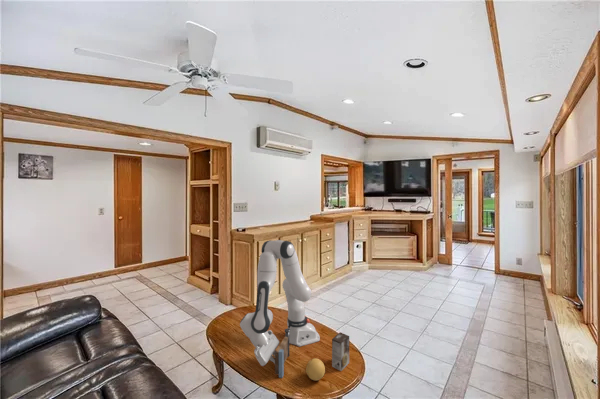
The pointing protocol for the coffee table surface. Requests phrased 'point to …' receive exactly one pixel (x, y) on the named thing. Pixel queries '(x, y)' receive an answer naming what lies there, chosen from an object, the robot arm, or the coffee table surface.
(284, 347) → the wooden gate panel
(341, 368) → the coffee box
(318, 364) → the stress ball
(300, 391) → the coffee table surface
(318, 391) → the coffee table surface
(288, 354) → the hinge post
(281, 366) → the post
